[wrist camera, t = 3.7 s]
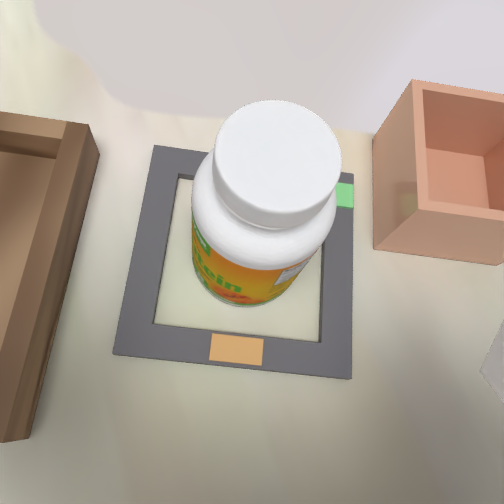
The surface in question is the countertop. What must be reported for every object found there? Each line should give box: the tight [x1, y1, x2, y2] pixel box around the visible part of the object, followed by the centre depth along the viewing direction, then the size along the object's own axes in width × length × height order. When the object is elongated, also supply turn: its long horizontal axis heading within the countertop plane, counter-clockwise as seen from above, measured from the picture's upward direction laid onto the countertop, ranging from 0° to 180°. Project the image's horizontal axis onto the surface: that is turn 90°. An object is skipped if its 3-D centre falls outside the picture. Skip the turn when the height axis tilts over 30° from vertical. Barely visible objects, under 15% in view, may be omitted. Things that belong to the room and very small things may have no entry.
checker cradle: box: [112, 145, 354, 379], centre depth 22 cm, size 11×11×1 cm
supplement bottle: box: [191, 100, 342, 307], centre depth 18 cm, size 5×5×10 cm
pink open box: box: [373, 79, 504, 265], centre depth 22 cm, size 7×7×5 cm
